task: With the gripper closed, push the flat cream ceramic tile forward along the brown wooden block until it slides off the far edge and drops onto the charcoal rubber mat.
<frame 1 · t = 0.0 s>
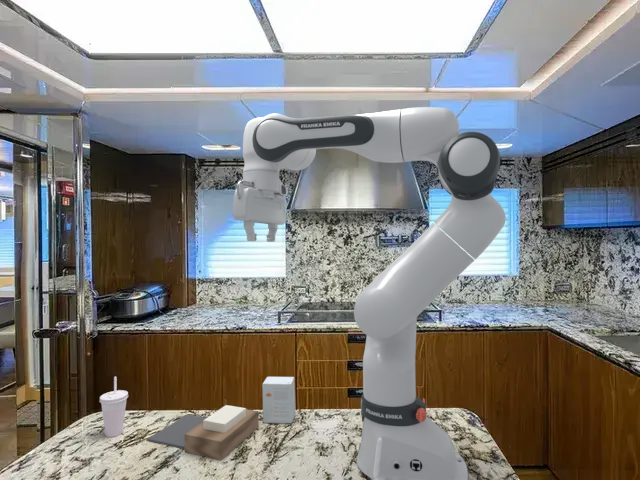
hand: (261, 241, 91), 48 cm above the countertop, fingers open, 8 cm apart
small box: (279, 419, 100), on the countertop
smoothie: (114, 434, 93), on the countertop
tile: (225, 422, 90), point 4 cm above the countertop, touching brown wooden block
mat: (187, 431, 94), on the countertop
brown wooden block: (223, 438, 90), on the countertop
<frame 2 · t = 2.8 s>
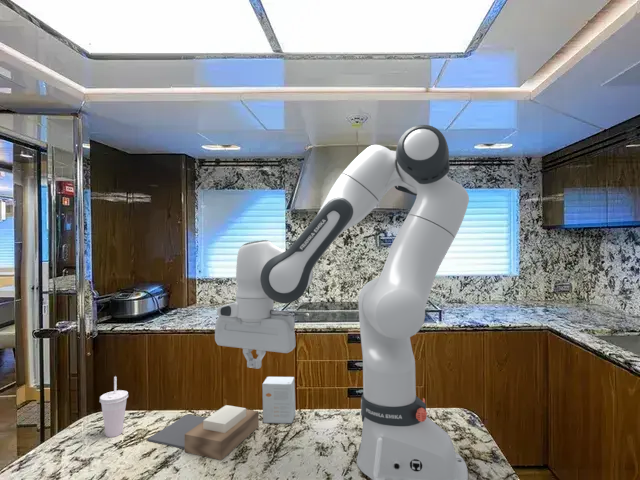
hand: (254, 367, 87), 18 cm above the countertop, fingers closed
nothing on the countertop moved.
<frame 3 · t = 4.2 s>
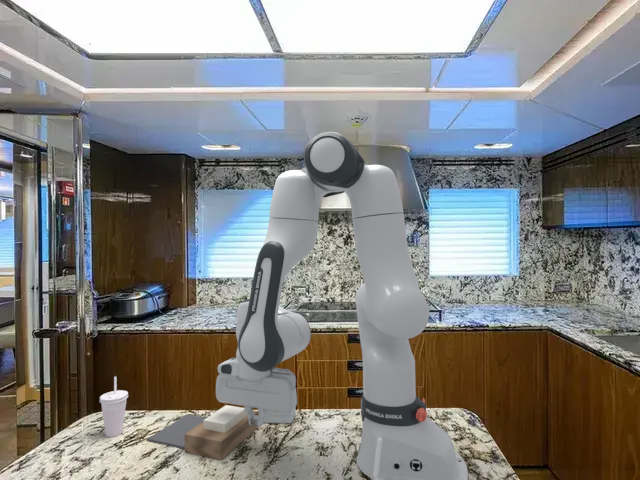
hand: (255, 424, 87), 5 cm above the countertop, fingers closed
nothing on the countertop moved.
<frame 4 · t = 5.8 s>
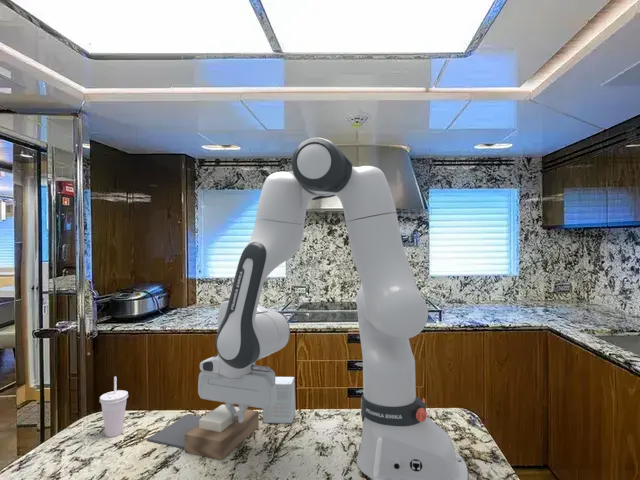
hand: (236, 421, 89), 5 cm above the countertop, fingers closed
tile: (221, 421, 90), point 4 cm above the countertop, touching brown wooden block, gripper
everything else where it was.
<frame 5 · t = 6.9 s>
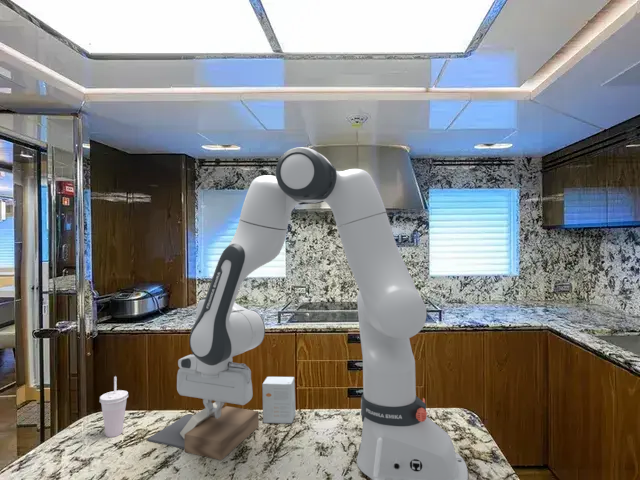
hand: (214, 416, 91), 5 cm above the countertop, fingers closed
tile: (203, 423, 92), point 3 cm above the countertop, tilted 50°, touching gripper, mat
everything else where it was.
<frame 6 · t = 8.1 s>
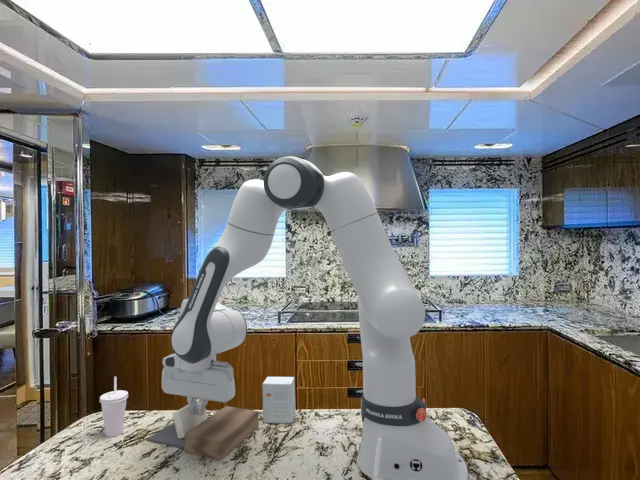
hand: (198, 414, 93), 5 cm above the countertop, fingers closed
tile: (194, 416, 93), point 4 cm above the countertop, tilted 106°, touching mat
everything else where it was.
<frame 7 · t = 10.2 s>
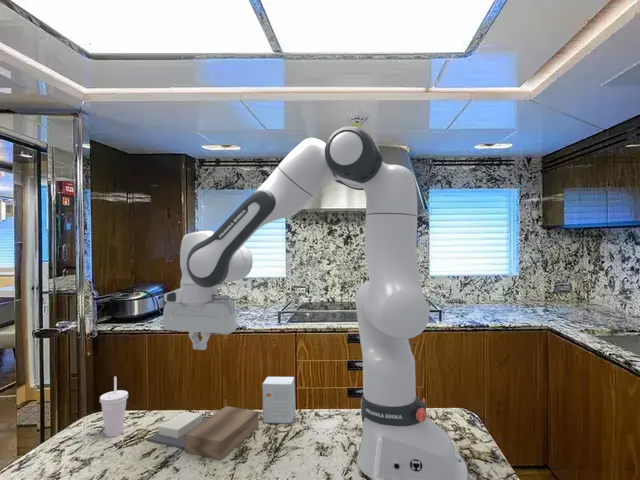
hand: (199, 349, 93), 21 cm above the countertop, fingers closed
tile: (180, 420, 95), point 2 cm above the countertop, tilted 180°, touching mat
everything else where it was.
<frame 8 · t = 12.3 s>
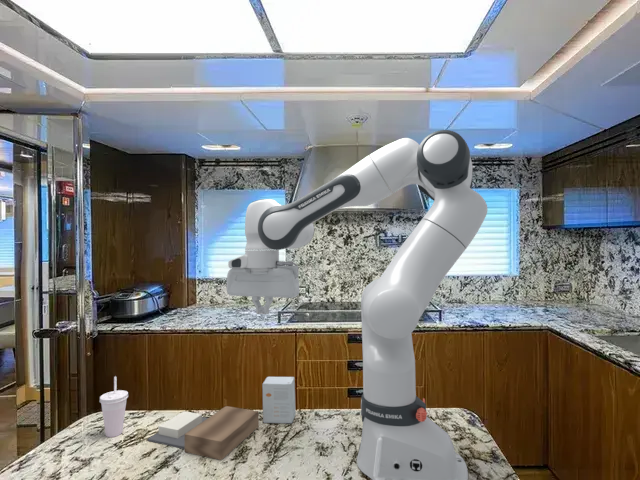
hand: (262, 313, 97), 29 cm above the countertop, fingers closed
nothing on the countertop moved.
at the end: tile inside the target area (2.1 cm from its centre), point 2.5 cm above the countertop; tile touching mat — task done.
